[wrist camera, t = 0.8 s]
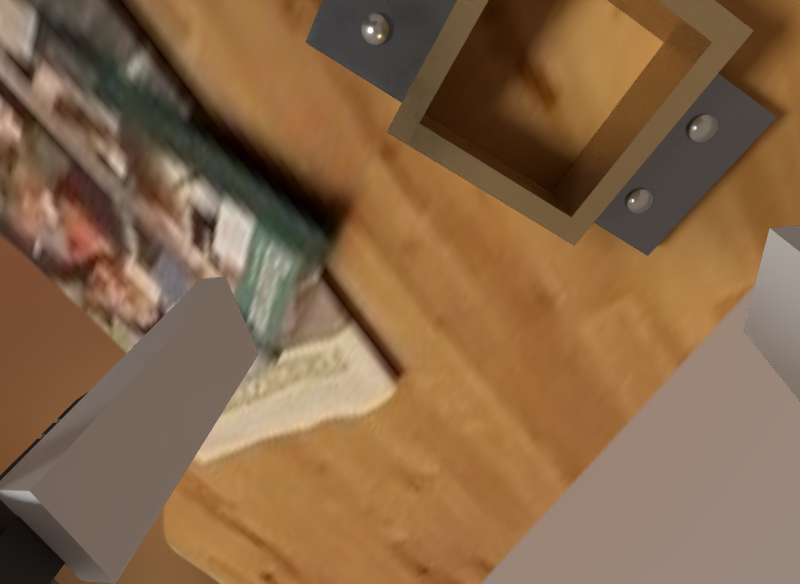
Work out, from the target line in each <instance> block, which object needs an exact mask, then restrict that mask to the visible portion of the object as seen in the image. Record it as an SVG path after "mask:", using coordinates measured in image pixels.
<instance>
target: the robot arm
mask: <svg viewBox="0 0 800 584" xmlns="http://www.w3.org/2000/svg"><path fill="white" fill-rule="evenodd" d="M744 332H745V333H746V335H747V336H748V337H749V338H750V340H751V341H752V342H753V343H754V345H755V346H756V347H757V348H758V350H759V351H760V352H761V353H762V355H763V356H764V357H765V358H766V360H767V361H768V362H769V363H770V364H771V366H772V367H773V368H774V369H775V371H776V372H777V373H778V375H779V376H780V377H781V378H782V380H783V381H784V382H785V383H786V385H787V386H788V387H789V388H790V390H791V391H792V392H793V393H794V395H795V396H796V397H797V398H798V400H799V401H800V225H799V226H788V227H777V228H770V229H769V233H768V236H767V240H766V244H765V248H764V252H763V256H762V260H761V264H760V268H759V272H758V276H757V280H756V284H755V287H754V291H753V295H752V299H751V303H750V307H749V311H748V315H747V319H746V323H745V327H744ZM257 356H258V352H257V349H256V347H255V345H254V342H253V340H252V338H251V335H250V333H249V331H248V328H247V326H246V324H245V321H244V319H243V317H242V314H241V312H240V310H239V307H238V305H237V303H236V300H235V298H234V295H233V293H232V291H231V288H230V286H229V284H228V281H227V279H226V277H217V278H206V279H201V280H200V281H199V282H198V283H197V284H196V285H195V286H194V287H193V288H192V289H191V290H190V291H189V292H188V293H187V294H186V295H185V296H184V297H183V298H182V299H181V300H180V301H179V302H178V303H177V304H176V305H175V306H174V307H173V308H172V309H171V310H170V311H169V312H168V313H167V314H166V315H165V316H164V317H163V318H162V319H161V320H160V321H159V322H158V323H157V324H156V325H155V326H154V327H153V328H152V329H151V330H150V331H149V332H148V333H147V334H146V335H145V336H144V337H143V338H142V339H141V340H140V341H139V342H138V343H137V344H136V345H135V346H134V347H133V348H132V349H131V350H130V351H129V352H128V353H127V354H126V355H125V356H124V357H123V358H122V359H121V360H120V361H119V362H118V363H117V364H116V365H115V366H114V367H113V368H112V369H111V370H110V371H109V372H108V373H107V374H106V375H105V376H104V377H103V378H102V379H101V380H100V381H99V382H98V383H97V384H96V385H95V386H94V387H93V388H92V389H91V390H90V391H89V392H87V393H86V394H85V395H83V396H82V397H80V398H79V399H77V400H76V401H75V402H74V403H73V404H72V405H71V406H70V407H69V408H68V409H67V410H66V411H65V412H64V413H63V414H62V415H61V416H60V417H59V418H58V419H57V420H58V421H57V423H53V424H52V425H51V426H50V427H49V428H48V429H47V430H46V431H45V432H44V433H43V434H42V437H41V439H37V440H36V441H35V442H34V443H33V444H32V445H31V446H30V447H29V448H28V449H27V450H26V451H25V452H24V453H23V454H22V455H21V456H20V457H19V458H18V459H17V460H15V462H13V463H12V464H11V465H10V467H8V469H6V470H5V471H4V472H3V474H2V475H0V584H59V583H58V582H57V581H56V580H55V579H54V577H55V576H56V574H57V573H58V572H59V570H60V569H61V568H62V566H63V565H64V564H65V565H66V566H67V567H68V568H69V569H70V570H71V571H72V572H73V573H75V574H76V576H77V577H78V578H79V579H80V580H81V581H90V582H103V583H116V582H117V581H118V579H119V577H120V576H121V574H122V573H123V571H124V569H125V568H126V566H127V564H128V563H129V561H130V559H131V558H132V556H133V555H134V553H135V552H136V550H137V548H138V547H139V545H140V544H141V542H142V540H143V539H144V537H145V536H146V534H147V532H148V531H149V529H150V528H151V526H152V524H153V523H154V521H155V520H156V518H157V516H158V515H159V513H160V512H161V510H162V508H163V507H164V505H165V503H166V502H167V500H168V499H169V497H170V495H171V494H172V492H173V491H174V489H175V487H176V486H177V484H178V483H179V481H180V479H181V478H182V476H183V475H184V473H185V471H186V470H187V468H188V467H189V465H190V463H191V462H192V460H193V458H194V457H195V455H196V454H197V452H198V450H199V449H200V447H201V446H202V444H203V442H204V441H205V439H206V438H207V436H208V434H209V433H210V431H211V430H212V428H213V426H214V425H215V423H216V422H217V420H218V418H219V417H220V415H221V414H222V412H223V410H224V409H225V407H226V405H227V404H228V402H229V401H230V399H231V397H232V396H233V394H234V393H235V391H236V389H237V388H238V386H239V385H240V383H241V381H242V380H243V378H244V377H245V375H246V373H247V372H248V370H249V369H250V367H251V365H252V364H253V362H254V360H255V359H256V357H257Z"/></svg>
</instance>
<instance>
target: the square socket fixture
mask: <svg viewBox="0 0 800 584" xmlns="http://www.w3.org/2000/svg"><path fill="white" fill-rule="evenodd" d="M608 1H610V2H611V3H612V4H614V5H615V6H616V7H618V8H619V9H620V10H622V11H623V12H625V13H626V14H627V15H629V16H630V17H631V18H633V19H634V20H635V21H637V22H638V23H639V24H641V25H642V26H643V27H645V28H646V29H647V30H649V31H650V32H651V33H653V34H654V35H655V36H657V37H658V38H659V39H661V40H662V41H663V42H665V43H664V44H663V45H662V47H661V48H660V49H659V51H658V52H657V53H656V55H655V56H654V57H653V59H652V60H651V61H650V63H649V64H648V65H647V67H646V68H645V69H644V71H643V72H642V73H641V75H640V76H639V77H638V79H637V80H636V81H635V82H634V84H633V85H632V86H631V88H630V89H629V90H628V92H627V93H626V94H625V96H624V97H623V98H622V100H621V101H620V102H619V104H618V105H617V106H616V108H615V109H614V110H613V112H612V113H611V114H610V115H609V117H608V118H607V119H606V121H605V122H604V123H603V125H602V126H601V127H600V129H599V130H598V131H597V133H596V134H595V135H594V137H593V138H592V139H591V141H590V142H589V143H588V145H587V146H586V147H585V148H584V150H583V151H582V152H581V154H580V155H579V156H578V158H577V159H576V160H575V162H574V163H573V164H572V166H571V167H570V168H569V170H568V171H567V172H566V174H565V175H564V176H563V178H562V179H561V180H560V182H559V183H558V184H557V185H556V187H555V188H554V189H553V191H552V192H550V191H548V190H547V189H545V188H544V187H542V186H540V185H539V184H537V183H536V182H534V181H532V180H531V179H529V178H528V177H526V176H524V175H523V174H521V173H520V172H518V171H516V170H515V169H513V168H512V167H510V166H508V165H507V164H505V163H504V162H502V161H500V160H499V159H497V158H496V157H494V156H492V155H491V154H489V153H488V152H486V151H484V150H483V149H481V148H480V147H478V146H476V145H475V144H473V143H472V142H470V141H468V140H467V139H465V138H464V137H462V136H460V135H459V134H457V133H456V132H454V131H452V130H451V129H449V128H448V127H446V126H444V125H443V124H441V123H440V122H438V121H436V120H435V119H433V118H432V117H430V116H428V115H427V114H425V112H426V110H427V109H428V107H429V105H430V103H431V101H432V100H433V98H434V96H435V94H436V93H437V91H438V89H439V87H440V85H441V84H442V82H443V80H444V78H445V77H446V75H447V73H448V71H449V69H450V68H451V66H452V64H453V62H454V61H455V59H456V57H457V55H458V54H459V52H460V50H461V48H462V46H463V45H464V43H465V41H466V39H467V38H468V36H469V34H470V32H471V30H472V29H473V27H474V25H475V23H476V22H477V20H478V18H479V16H480V15H481V13H482V11H483V9H484V7H485V6H486V4H487V2H488V0H323V1H322V3H321V6H320V8H319V11H318V13H317V16H316V18H315V21H314V23H313V25H312V28H311V30H310V33H309V35H308V38H307V40H306V43H307V44H309V45H310V46H312V47H314V48H315V49H317V50H318V51H320V52H322V53H323V54H325V55H326V56H328V57H330V58H331V59H333V60H334V61H336V62H338V63H339V64H341V65H342V66H344V67H346V68H347V69H349V70H350V71H352V72H354V73H355V74H357V75H359V76H360V77H362V78H363V79H365V80H367V81H368V82H370V83H371V84H373V85H375V86H376V87H378V88H379V89H381V90H383V91H384V92H386V93H387V94H389V95H391V96H392V97H394V98H395V99H397V100H399V101H400V102H402V104H401V106H400V108H399V110H398V112H397V114H396V115H395V117H394V119H393V121H392V123H391V125H390V127H389V129H388V131H387V133H389V134H391V135H392V136H394V137H396V138H397V139H399V140H400V141H402V142H404V143H405V144H407V145H409V146H410V147H412V148H414V149H415V150H417V151H419V152H420V153H422V154H424V155H425V156H427V157H429V158H430V159H432V160H434V161H435V162H437V163H439V164H440V165H442V166H443V167H445V168H447V169H448V170H450V171H452V172H453V173H455V174H457V175H458V176H460V177H462V178H463V179H465V180H467V181H468V182H470V183H472V184H473V185H475V186H477V187H478V188H480V189H481V190H483V191H485V192H486V193H488V194H490V195H491V196H493V197H495V198H496V199H498V200H500V201H501V202H503V203H505V204H506V205H508V206H510V207H511V208H513V209H515V210H516V211H518V212H520V213H521V214H523V215H524V216H526V217H528V218H529V219H531V220H533V221H534V222H536V223H538V224H539V225H541V226H543V227H544V228H546V229H548V230H549V231H551V232H553V233H554V234H556V235H558V236H559V237H561V238H562V239H564V240H566V241H567V242H569V243H571V244H572V245H574V246H575V244H576V243H577V242H578V241H579V240H580V238H581V237H582V236H583V235H584V234H585V232H586V231H587V230H588V229H589V228H590V226H591V225H592V224H593V223H596V224H598V225H599V226H601V227H602V228H604V229H606V230H607V231H609V232H610V233H612V234H614V235H615V236H617V237H618V238H620V239H622V240H623V241H625V242H626V243H628V244H630V245H631V246H633V247H634V248H636V249H638V250H639V251H641V252H642V253H644V254H646V255H647V256H648V255H649V254H650V253H651V252H652V251H653V250H654V248H655V247H656V246H657V245H658V244H659V243H660V242H661V241H662V240H663V239H664V238H665V237H666V236H667V235H668V233H669V232H670V231H671V230H672V229H673V228H674V227H675V226H676V225H677V224H678V223H679V222H680V221H681V220H682V218H683V217H684V216H685V215H686V214H687V213H688V212H689V211H690V210H691V209H692V208H693V207H694V206H695V205H696V203H697V202H698V201H699V200H700V199H701V198H702V197H703V196H704V195H705V194H706V193H707V192H708V191H709V190H710V188H711V187H712V186H713V185H714V184H715V183H716V182H717V181H718V180H719V179H720V178H721V177H722V176H723V175H724V173H725V172H726V171H727V170H728V169H729V168H730V167H731V166H732V165H733V164H734V163H735V162H736V161H737V160H738V158H739V157H740V156H741V155H742V154H743V153H744V152H745V151H746V150H747V149H748V148H749V147H750V146H751V145H752V143H753V142H754V141H755V140H756V139H757V138H758V137H759V136H760V135H761V134H762V133H763V132H764V131H765V130H766V128H767V127H768V126H769V125H770V124H771V123H772V122H773V121H774V120H775V119H776V118H777V117H776V116H775V115H773V114H772V113H771V112H769V111H768V110H767V109H765V108H764V107H763V106H761V105H760V104H759V103H757V102H756V101H755V100H753V99H752V98H751V97H749V96H748V95H747V94H745V93H744V92H743V91H741V90H740V89H739V88H737V87H736V86H735V85H733V84H732V83H731V82H729V81H728V80H727V79H725V78H724V77H723V76H721V75H720V74H719V72H720V71H721V69H722V68H723V67H724V66H725V65H726V63H727V62H728V61H729V60H730V59H731V57H732V56H733V55H734V54H735V53H736V51H737V50H738V49H739V48H740V47H741V45H742V44H743V43H744V42H745V41H746V39H747V38H748V37H749V36H750V35H751V33H752V32H753V30H752V29H751V28H750V27H748V26H747V25H746V24H745V23H743V22H742V21H741V20H739V19H738V18H737V17H736V16H734V15H733V14H732V13H731V12H729V11H728V10H727V9H726V8H724V7H723V6H722V5H720V4H719V3H718V2H717V1H715V0H608Z"/></svg>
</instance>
